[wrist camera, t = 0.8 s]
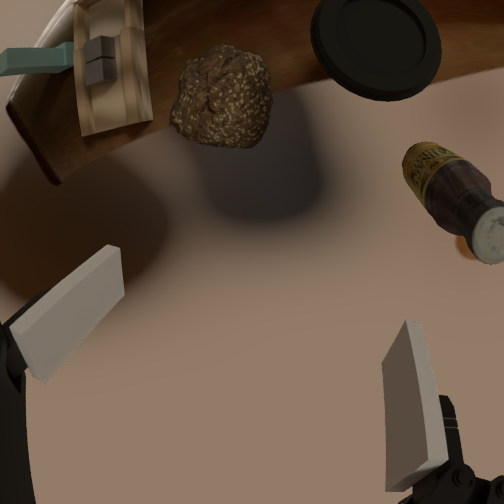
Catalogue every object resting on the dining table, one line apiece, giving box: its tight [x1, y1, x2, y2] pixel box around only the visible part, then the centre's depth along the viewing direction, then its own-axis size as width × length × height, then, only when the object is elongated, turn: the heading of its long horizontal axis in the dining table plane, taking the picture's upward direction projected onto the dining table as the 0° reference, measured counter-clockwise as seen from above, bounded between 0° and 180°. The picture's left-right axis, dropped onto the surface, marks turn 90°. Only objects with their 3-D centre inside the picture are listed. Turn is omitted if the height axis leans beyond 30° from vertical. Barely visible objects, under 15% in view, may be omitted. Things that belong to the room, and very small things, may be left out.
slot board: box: [73, 0, 153, 137], centre depth 32 cm, size 22×10×4 cm, turn 6°
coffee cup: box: [310, 0, 442, 102], centre depth 22 cm, size 10×10×15 cm
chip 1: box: [84, 35, 116, 63], centre depth 30 cm, size 3×3×3 cm
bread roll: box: [170, 44, 273, 148], centre depth 32 cm, size 13×12×5 cm
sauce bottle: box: [402, 142, 504, 265], centre depth 23 cm, size 6×6×20 cm
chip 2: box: [85, 58, 118, 86], centre depth 32 cm, size 3×3×3 cm
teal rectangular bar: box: [0, 42, 74, 77], centre depth 29 cm, size 4×4×13 cm
